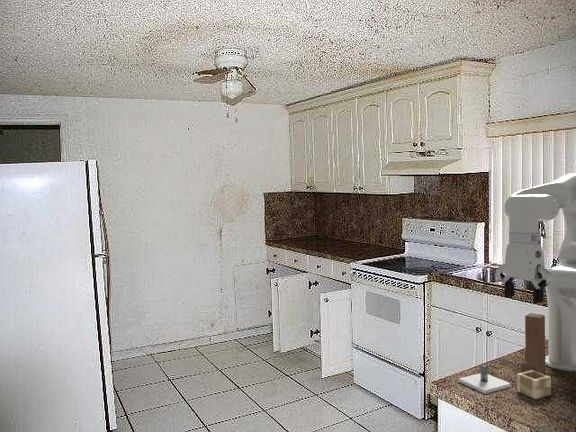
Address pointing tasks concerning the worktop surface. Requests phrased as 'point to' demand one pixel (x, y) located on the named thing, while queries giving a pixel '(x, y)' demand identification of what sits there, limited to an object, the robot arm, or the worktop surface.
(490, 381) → the pin plate
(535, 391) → the maple collar
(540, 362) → the wooden block
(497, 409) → the worktop surface
